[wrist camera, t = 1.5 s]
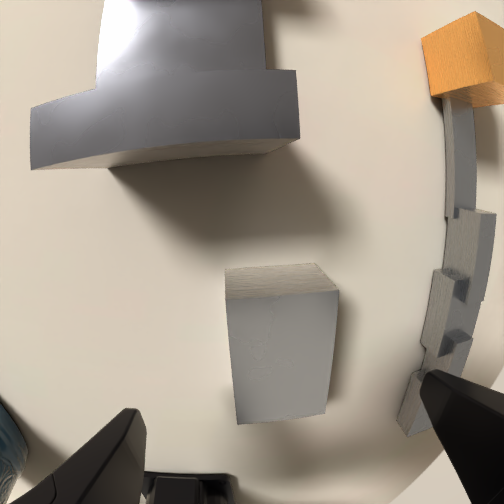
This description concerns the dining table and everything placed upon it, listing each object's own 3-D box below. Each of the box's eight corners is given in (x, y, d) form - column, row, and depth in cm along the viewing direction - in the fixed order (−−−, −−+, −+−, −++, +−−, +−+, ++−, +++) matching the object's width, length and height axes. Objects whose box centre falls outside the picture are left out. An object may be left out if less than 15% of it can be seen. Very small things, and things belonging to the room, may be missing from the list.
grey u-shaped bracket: (266, 153, 10) (300, 138, 6) (106, 168, 10) (30, 170, 5) (253, -48, 8) (267, -120, 3) (120, -33, 7) (87, -95, 3)
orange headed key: (429, 408, 15) (458, 446, 11) (392, 421, 15) (419, 465, 11) (463, 55, 9) (517, 38, 6) (420, 38, 9) (474, 11, 5)
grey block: (307, 371, 13) (324, 413, 10) (234, 378, 13) (237, 424, 10) (313, 261, 12) (339, 290, 9) (224, 267, 12) (225, 299, 9)
